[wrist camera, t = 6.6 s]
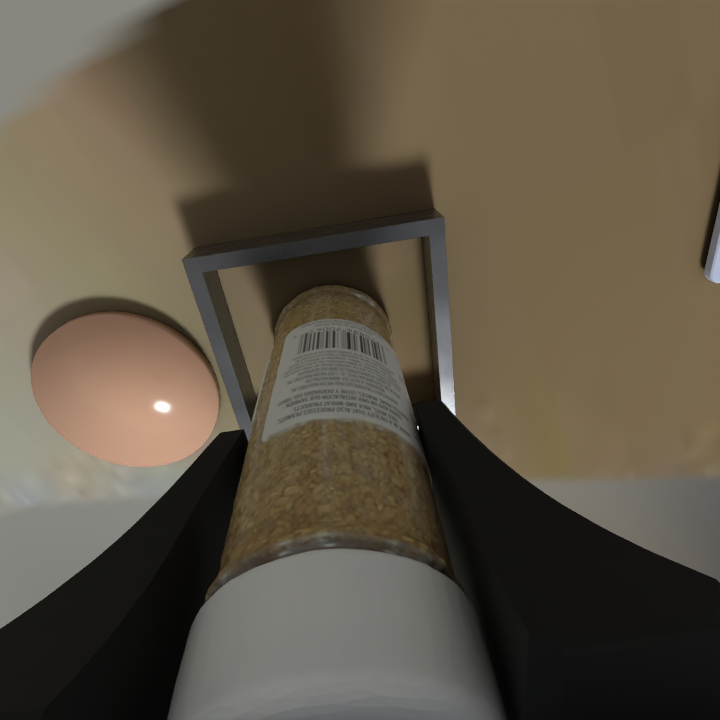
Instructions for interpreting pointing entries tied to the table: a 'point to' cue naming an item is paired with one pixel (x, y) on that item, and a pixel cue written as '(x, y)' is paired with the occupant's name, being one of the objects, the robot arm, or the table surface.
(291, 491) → the sprinkles bottle
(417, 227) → the square socket
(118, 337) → the terracotta coaster
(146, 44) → the table surface
